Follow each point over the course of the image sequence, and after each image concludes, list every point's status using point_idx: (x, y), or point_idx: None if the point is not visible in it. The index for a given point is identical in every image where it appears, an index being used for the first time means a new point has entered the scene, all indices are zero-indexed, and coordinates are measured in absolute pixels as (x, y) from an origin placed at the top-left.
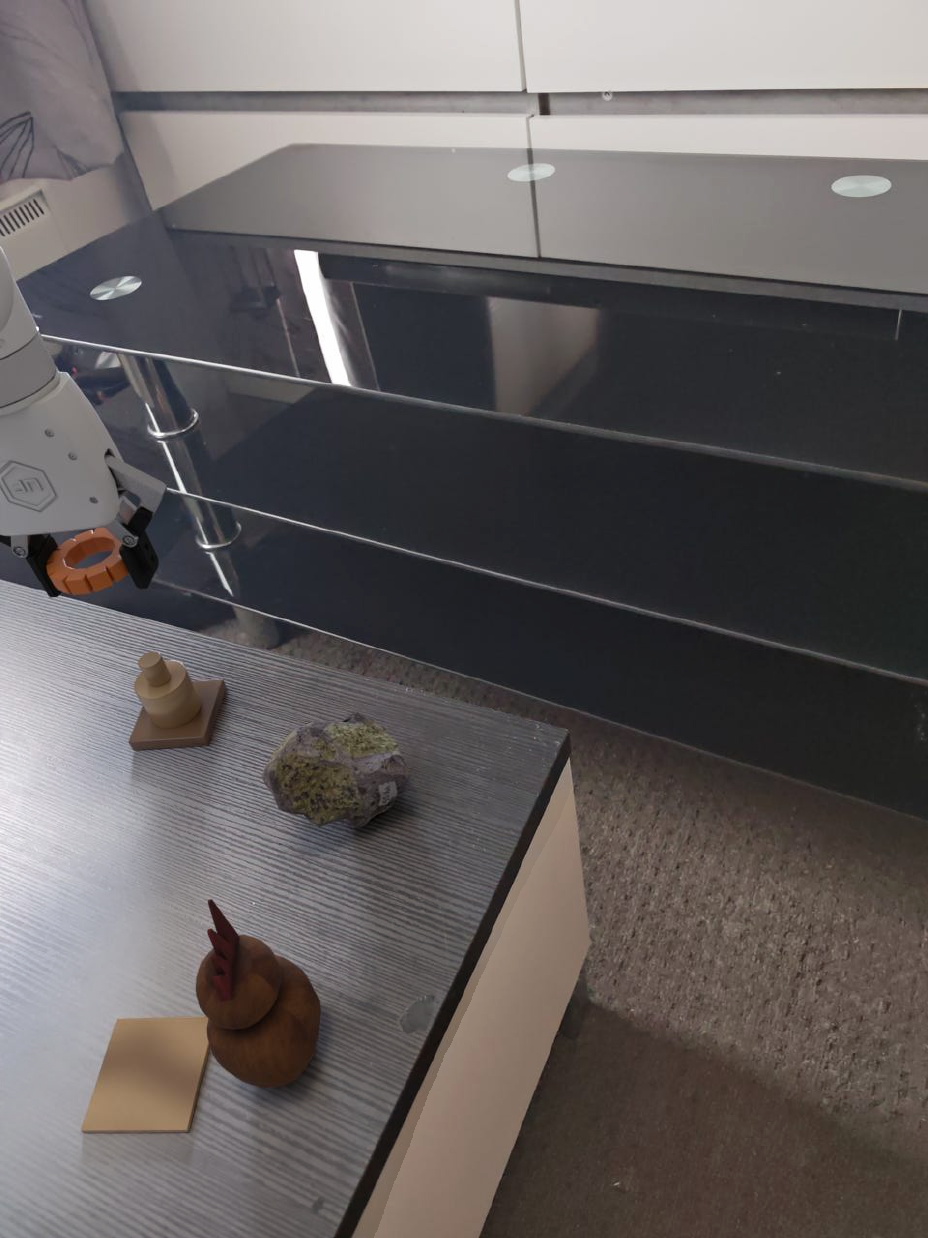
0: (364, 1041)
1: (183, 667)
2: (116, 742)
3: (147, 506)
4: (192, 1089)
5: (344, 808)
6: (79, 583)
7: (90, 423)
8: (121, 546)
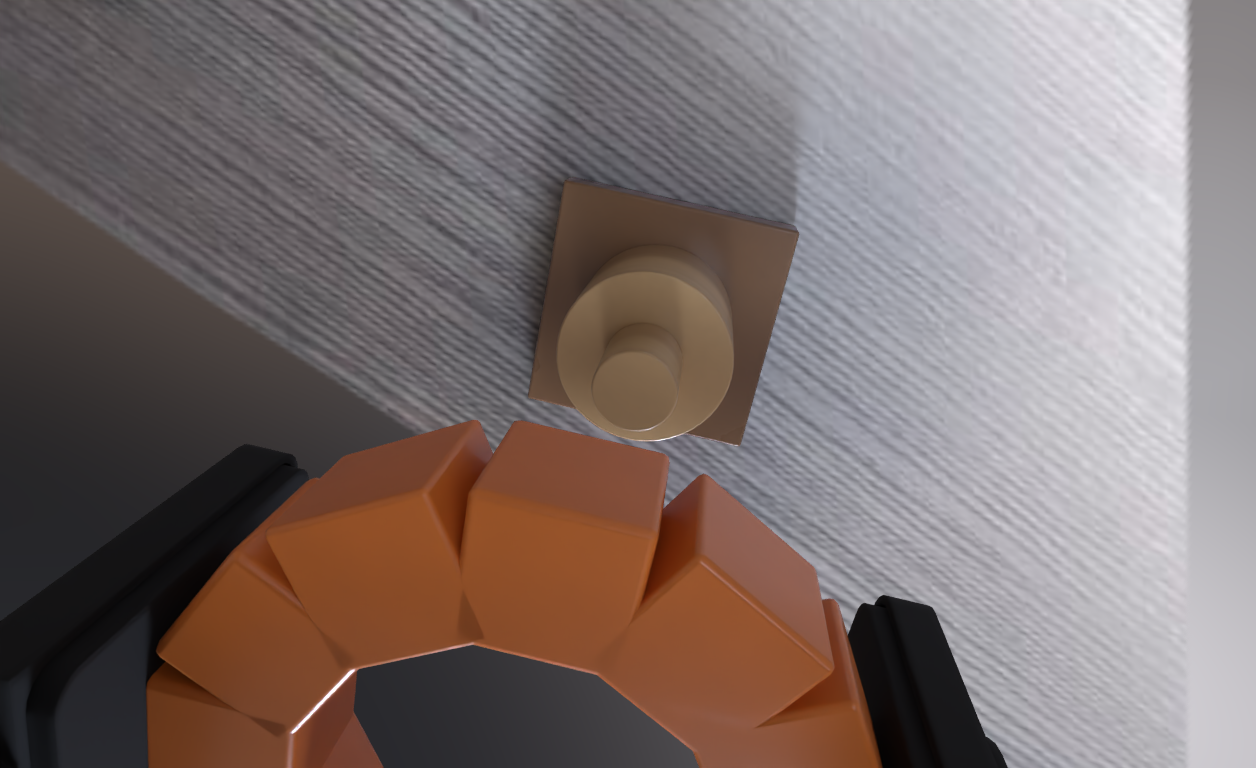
0: None
1: (567, 386)
2: (849, 277)
3: None
4: None
5: None
6: (533, 477)
7: None
8: (17, 733)
